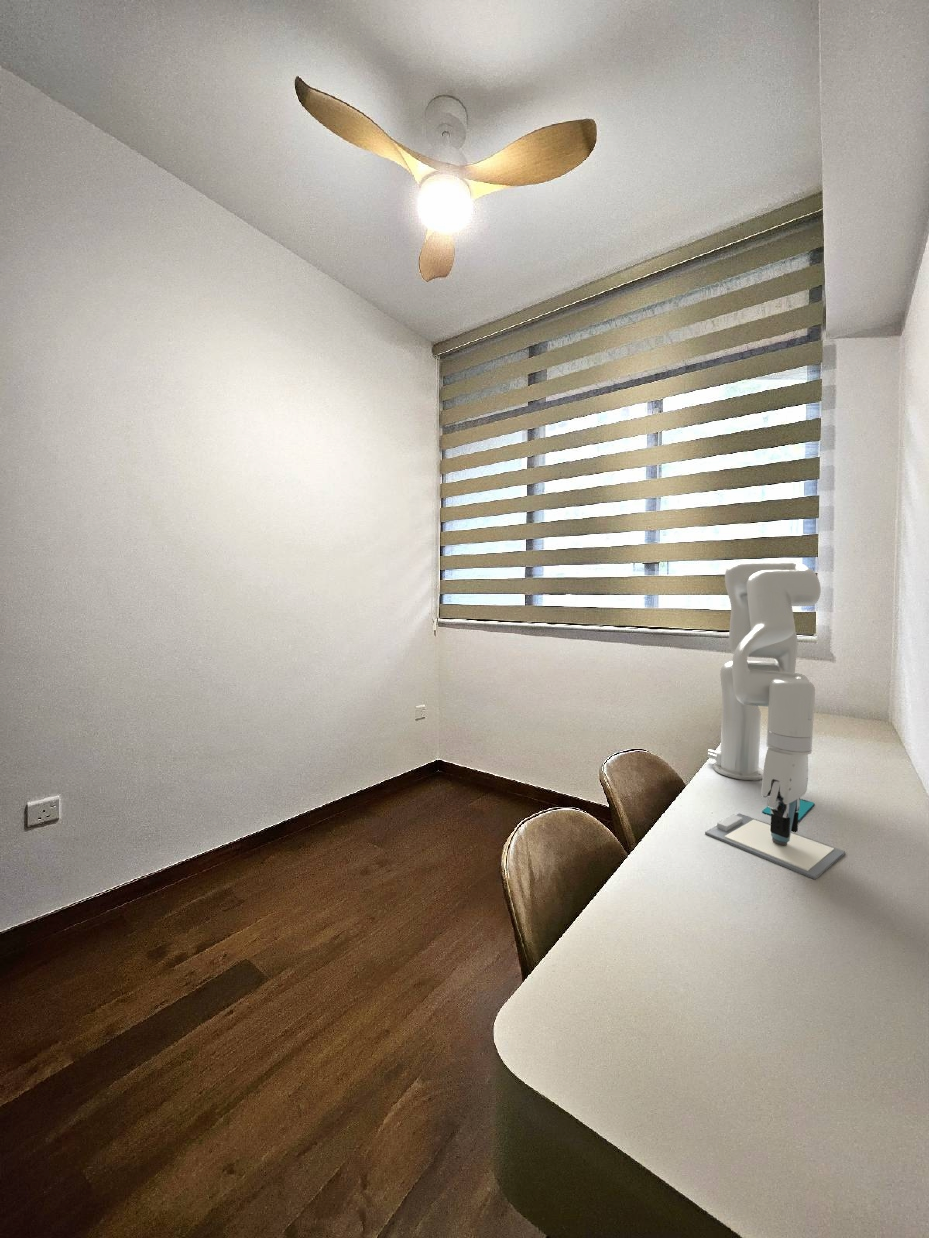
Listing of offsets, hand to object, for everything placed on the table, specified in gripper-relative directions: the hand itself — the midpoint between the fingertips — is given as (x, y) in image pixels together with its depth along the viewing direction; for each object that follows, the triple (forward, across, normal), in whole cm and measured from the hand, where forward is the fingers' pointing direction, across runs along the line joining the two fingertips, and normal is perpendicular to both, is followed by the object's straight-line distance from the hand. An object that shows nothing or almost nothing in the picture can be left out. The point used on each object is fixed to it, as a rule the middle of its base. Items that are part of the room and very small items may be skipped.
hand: (783, 831), depth 99 cm
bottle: (+3, 0, -1) cm, 3 cm away
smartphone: (+4, -21, -7) cm, 23 cm away
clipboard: (+3, 0, -2) cm, 4 cm away
